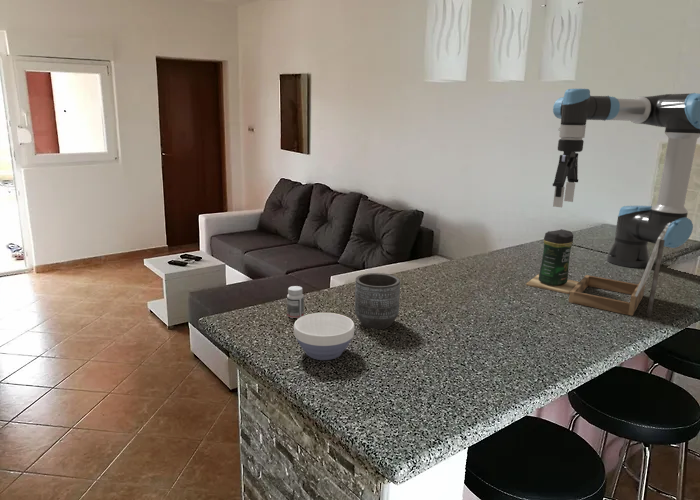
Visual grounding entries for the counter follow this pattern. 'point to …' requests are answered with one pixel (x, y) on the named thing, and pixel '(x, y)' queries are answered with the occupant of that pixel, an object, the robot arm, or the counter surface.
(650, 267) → the cold frame
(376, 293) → the planter
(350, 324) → the bowl
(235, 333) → the counter surface
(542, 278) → the coffee jar
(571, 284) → the mat
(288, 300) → the pill bottle
